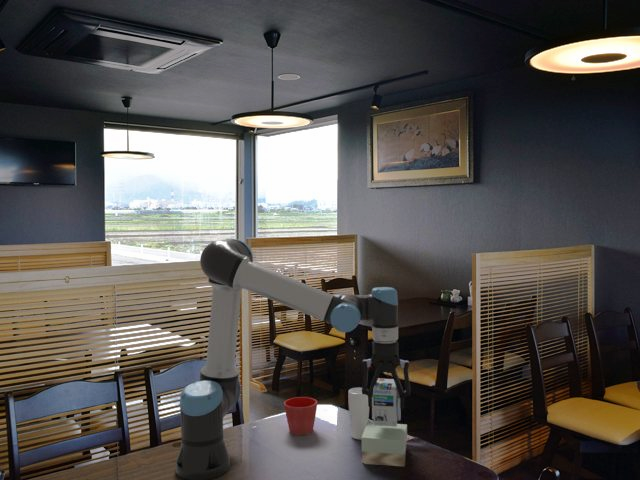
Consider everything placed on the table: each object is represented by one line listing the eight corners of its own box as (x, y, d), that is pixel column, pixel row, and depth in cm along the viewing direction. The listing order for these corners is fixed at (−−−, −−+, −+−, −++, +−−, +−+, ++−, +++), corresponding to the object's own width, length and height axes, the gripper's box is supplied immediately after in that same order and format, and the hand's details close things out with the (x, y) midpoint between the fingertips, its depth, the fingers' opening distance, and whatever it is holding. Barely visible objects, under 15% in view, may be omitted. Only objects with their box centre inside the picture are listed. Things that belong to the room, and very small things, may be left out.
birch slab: (362, 464, 157) (362, 451, 157) (366, 447, 169) (366, 434, 169) (404, 467, 155) (404, 454, 155) (406, 449, 167) (405, 436, 166)
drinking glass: (373, 435, 177) (373, 389, 176) (363, 442, 171) (363, 395, 170) (355, 431, 180) (354, 386, 180) (345, 438, 175) (344, 392, 174)
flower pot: (287, 423, 188) (287, 396, 187) (319, 425, 186) (319, 396, 186) (281, 436, 177) (280, 406, 177) (315, 437, 176) (314, 408, 175)
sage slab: (361, 451, 157) (361, 437, 157) (367, 434, 168) (367, 421, 168) (403, 454, 154) (403, 440, 154) (407, 437, 166) (407, 424, 166)
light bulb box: (396, 427, 155) (396, 389, 155) (373, 426, 157) (372, 388, 156) (399, 413, 166) (398, 378, 165) (376, 412, 167) (376, 377, 167)
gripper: (350, 342, 158) (351, 421, 159) (419, 344, 155) (420, 424, 156) (353, 337, 165) (354, 411, 167) (419, 338, 162) (420, 414, 163)
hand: (386, 417), depth 161 cm, fingers closed on light bulb box, 7 cm apart
